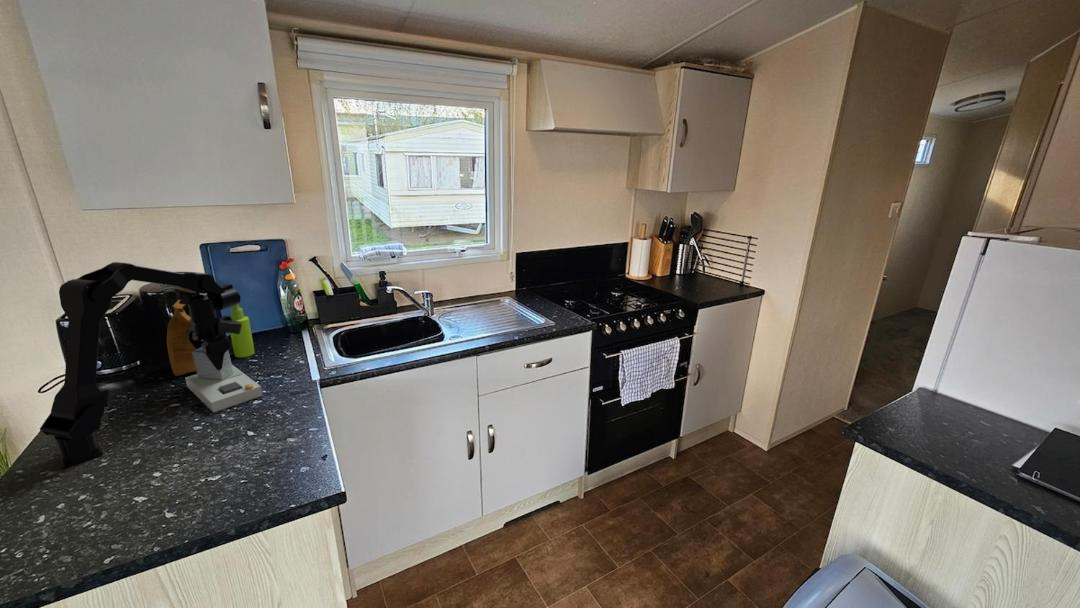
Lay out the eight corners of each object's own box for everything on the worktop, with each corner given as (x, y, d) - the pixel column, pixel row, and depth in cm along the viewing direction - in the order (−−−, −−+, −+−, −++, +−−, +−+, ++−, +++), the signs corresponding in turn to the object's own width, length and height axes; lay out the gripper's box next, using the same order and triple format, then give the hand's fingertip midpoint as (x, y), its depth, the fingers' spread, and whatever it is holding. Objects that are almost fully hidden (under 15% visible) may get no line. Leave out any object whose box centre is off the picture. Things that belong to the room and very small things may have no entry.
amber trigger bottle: (212, 357, 148) (199, 296, 142) (210, 371, 138) (196, 306, 132) (175, 363, 143) (159, 300, 137) (170, 378, 133) (153, 311, 127)
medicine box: (234, 373, 131) (228, 347, 128) (222, 380, 127) (216, 353, 124) (209, 371, 131) (204, 345, 129) (197, 378, 127) (191, 351, 125)
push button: (242, 396, 124) (240, 386, 123) (226, 401, 121) (224, 391, 120) (237, 391, 126) (235, 381, 125) (221, 396, 123) (219, 386, 122)
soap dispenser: (250, 348, 156) (240, 295, 151) (257, 353, 152) (247, 299, 146) (231, 353, 152) (220, 299, 146) (238, 359, 148) (227, 303, 142)
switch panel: (262, 395, 125) (260, 383, 124) (213, 412, 116) (210, 399, 115) (233, 373, 138) (231, 362, 137) (187, 386, 129) (184, 375, 128)
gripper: (248, 315, 124) (257, 365, 129) (224, 302, 135) (233, 348, 139) (201, 325, 116) (212, 378, 120) (179, 310, 126) (190, 359, 131)
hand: (213, 365), depth 128 cm, fingers open, 9 cm apart
